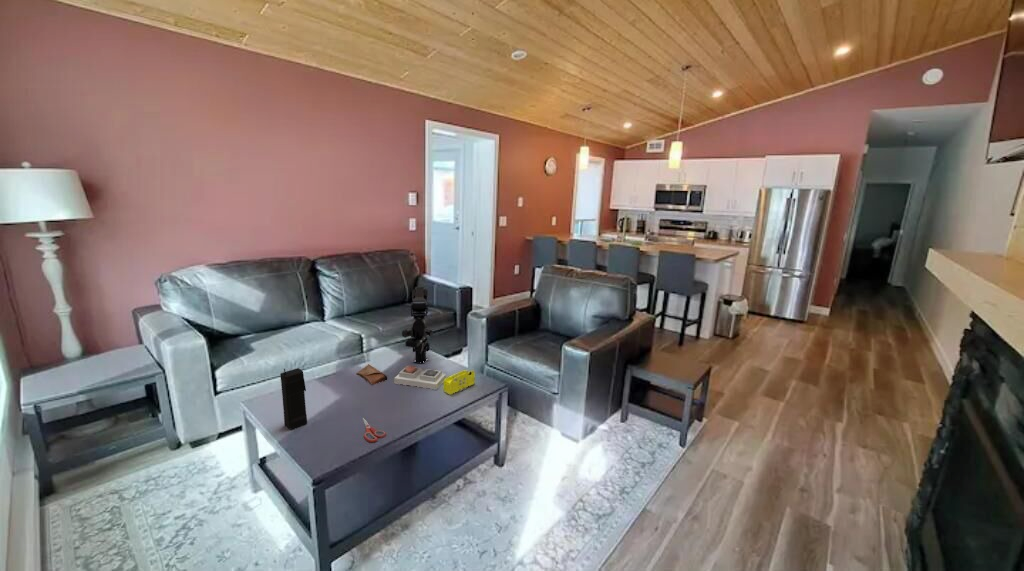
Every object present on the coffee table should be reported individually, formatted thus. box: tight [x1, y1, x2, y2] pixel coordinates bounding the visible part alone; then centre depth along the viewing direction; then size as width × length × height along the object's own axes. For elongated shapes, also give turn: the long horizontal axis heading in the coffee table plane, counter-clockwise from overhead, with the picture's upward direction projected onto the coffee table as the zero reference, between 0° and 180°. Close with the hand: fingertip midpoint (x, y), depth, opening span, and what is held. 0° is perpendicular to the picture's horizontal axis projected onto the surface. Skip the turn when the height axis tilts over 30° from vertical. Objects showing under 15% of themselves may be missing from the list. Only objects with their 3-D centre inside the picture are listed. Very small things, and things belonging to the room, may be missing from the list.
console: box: [393, 365, 447, 391], centre depth 206 cm, size 12×22×5 cm, turn 77°
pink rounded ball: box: [405, 365, 416, 374], centre depth 207 cm, size 4×4×3 cm
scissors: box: [362, 417, 387, 443], centre depth 165 cm, size 8×21×2 cm, turn 45°
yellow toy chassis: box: [442, 369, 476, 396], centre depth 200 cm, size 16×6×8 cm, turn 141°
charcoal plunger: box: [426, 369, 436, 377], centre depth 204 cm, size 4×4×3 cm
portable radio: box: [280, 368, 308, 430], centre depth 164 cm, size 8×6×25 cm
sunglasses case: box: [355, 363, 388, 386], centre depth 210 cm, size 18×7×7 cm, turn 47°
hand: (419, 353), depth 212 cm, fingers closed
